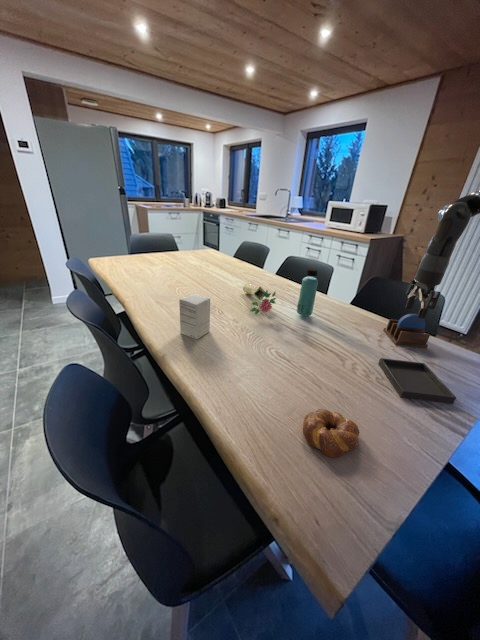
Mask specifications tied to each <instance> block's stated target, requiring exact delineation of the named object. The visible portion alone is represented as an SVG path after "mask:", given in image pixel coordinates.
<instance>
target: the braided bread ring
mask: <svg viewBox="0 0 480 640" xmlns="http://www.w3.org/2000/svg"><path fill="white" fill-rule="evenodd" d="M302 422H303V423H302V434H303V437H304V439H305V440H306V442H307V443H308V444H309V445H311V446H312V447H314V448H317V449H318V450H320V451H321V452H322V453H323V454H324V455H326V456H328V457H331V458H337V457H340V456H342V455H343V454H344V453H346V452H348V451H349V450H351V451H353V450H355V449H356V448H357V447H358V444H359V436H360V434H361V433H360V432H361V431H360V429H359V427H358V425H357V423H356V422H354V421H353V420H351V419H349V418H345V417H344V416H343V415H342V414H341V413H339V412H336V411H331V410H329V409H325V408H320V409H317V410H315V411H311V412H310V413H308V414H306V415H305V417H304V419H303V421H302Z"/></svg>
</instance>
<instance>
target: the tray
mask: <svg viewBox="0 0 480 640" xmlns="http://www.w3.org/2000/svg"><path fill="white" fill-rule="evenodd" d="M378 365H379V367H380V369H381V370H382V372H383V373H384V375H385V376H386V378H387V379H388V381H389V383H390V384H391V385H392V387H393V388H394V390H395V392H396V393H397V394H398V396H399V397H400V398H402V399H410V400H419V401H426V402H434V403H435V402H436V403H443V404H451V405H453V404H454V403H455V401H456V400H457V396H456V395H455V394H454V393H453V392H452V391H451V390H450V389H449V388H448V387H447V386H446V385H445V384H444V383H443V382H442V380H441V379H440V378H439V376H437V375H436V374H435V373H434V371H433V370H432V369H431V368H430V367H429V366H428V365H427V364H426V363H425V362H418V361H409V360H401V359H400V360H399V359H391V358H382V357H380V358H379V360H378Z"/></svg>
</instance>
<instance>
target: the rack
mask: <svg viewBox="0 0 480 640" xmlns="http://www.w3.org/2000/svg"><path fill="white" fill-rule="evenodd" d="M399 320H400V319H391V318H390V319H389V320H388V322H387V325H386V327H384V328H383V332H384V334H386V336H387V337H388V338H389V339H390V340H391V342H392V343H393V344H394V345H395V346H404V347H412V348H422V349H428V347H429V345H428V344H427V343H428V341H429V338H430V336H431V334H430V333H426V330H425V329H424V330H423V329H414V328H404V327H397V323H398V321H399Z"/></svg>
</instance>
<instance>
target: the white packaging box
mask: <svg viewBox="0 0 480 640" xmlns="http://www.w3.org/2000/svg"><path fill="white" fill-rule="evenodd" d="M178 302H179V303H178V304H179V305H178V306H179V329H180V330H179V333H180V334H182V335H185V336H186V337H189V338H192V339H194V340H198V339H200V338H201V337H203V336H205V335H206V334H207V333H209V332H210V328H211V327H210V326H211V298H210V297H208V296H204V295H201V294H198V293H194V292H192V293H191V294H189V295H186V296H184V297H181V298H179V300H178Z"/></svg>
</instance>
